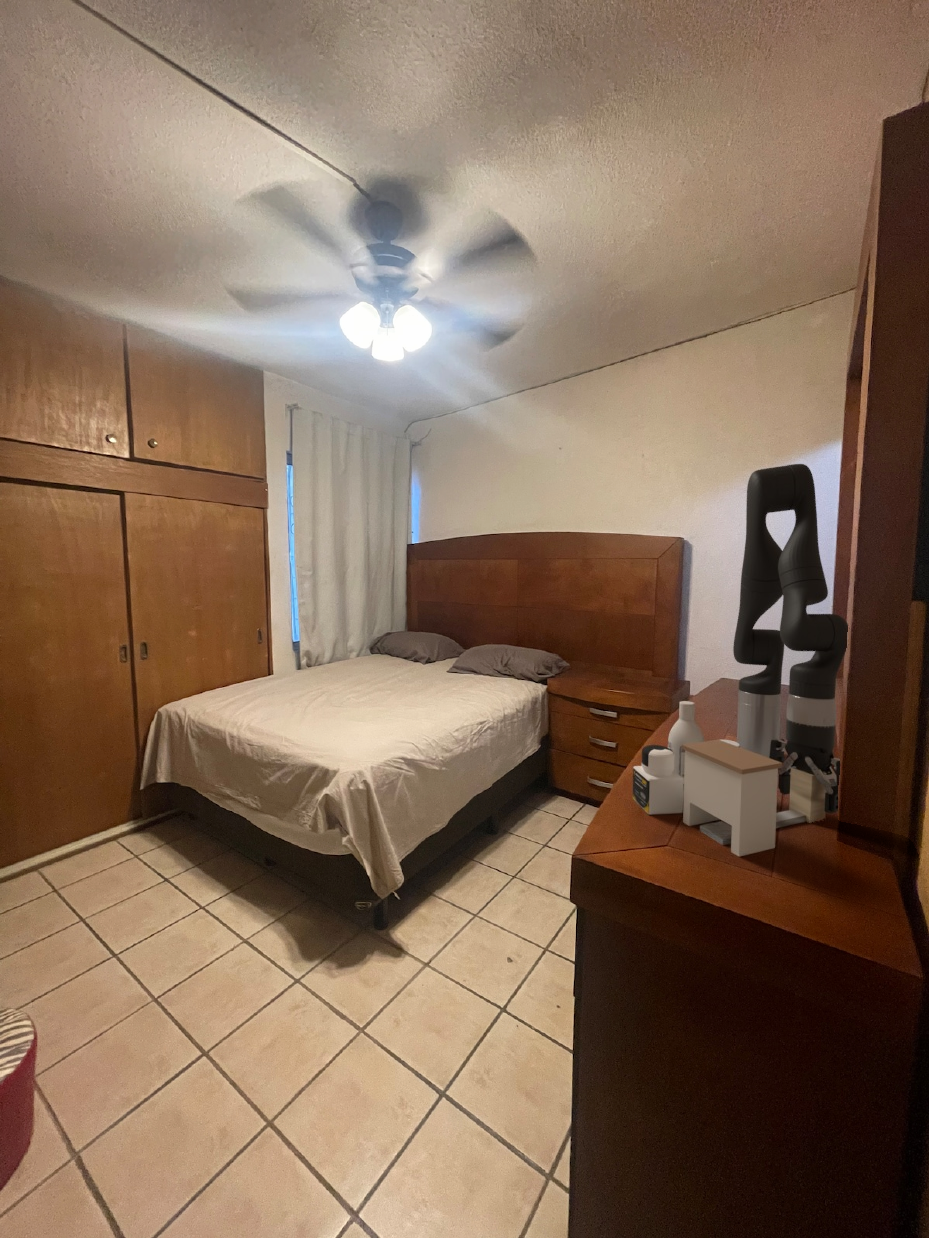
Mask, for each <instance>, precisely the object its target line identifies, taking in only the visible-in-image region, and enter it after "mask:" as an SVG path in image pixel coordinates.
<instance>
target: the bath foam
mask: <svg viewBox="0 0 929 1238" xmlns="http://www.w3.org/2000/svg"><path fill="white" fill-rule="evenodd" d="M678 708H679V710H678V713H679V715H678V716H679V717H678V719H677V721H675V723H674V724H673V725H672V728H671V729H670V731H669V733H668V739H667V748H669V749H671V750H672V751H673V752H674V772H675V773H677V774H678V775H679V776H681V777H682V778H683V802H684V769H685V750H683V749H682V745H683V744H690V743H697V742H705V737H704V734H703V732H702V729H701V728H700V727H699V725H698V723H697V722H696V721H695V716H696V715H695V711H696V709H695V708H696V704H695V702H694V701H688V700H683V701H679V707H678Z"/></svg>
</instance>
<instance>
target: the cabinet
mask: <svg viewBox="0 0 929 1238" xmlns="http://www.w3.org/2000/svg"><path fill="white" fill-rule="evenodd" d="M721 740H722V739H713V740H712V739H711V740H704V742H697V743H690V744H683V745H682V749H683V750H685V769H684V801H683V812H682V814H683V815H682V817H683V818H682V822H683V823H684V824H685V825H687V826H689V827H692V826H696V825H703V824H707V823H712V822H714V821H716V822H717V821H720V820H721V821H722V822H724V823H726V824H728V825H730V826H731V827H732V836H731V844H730V852H731V854H734V855H735V856H737V857H742V856H749V855H751V854H756V853H760V852H764V851H768V850H772V849H775V847H776V829H777V828H776V813H777V803H778V802H777V801H778V782H779V781H778V779H779V774H778V768H782V763H781V762H778V761H776V760H773V759H770V758H767V757H765V756H762V755H759V754H756V753H754V752H751V751H748V750H746V749H743V748H740V747H737V746H735V745H732V744H729V743H726V742H724V741H721Z"/></svg>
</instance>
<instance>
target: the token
mask: <svg viewBox="0 0 929 1238" xmlns="http://www.w3.org/2000/svg"><path fill="white" fill-rule="evenodd" d="M699 831H700V832H701V833H703V834H705V836H707V837H709V838H710V839H711V840H713V841H715V842H717V843H718V844H719V845H722V846H726V845H731V836H732V826H731V825H730V824H728V823H726V822H724V821H722V820H721V821H720V820H719V821H716V822H709V823H704V824H699Z"/></svg>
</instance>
